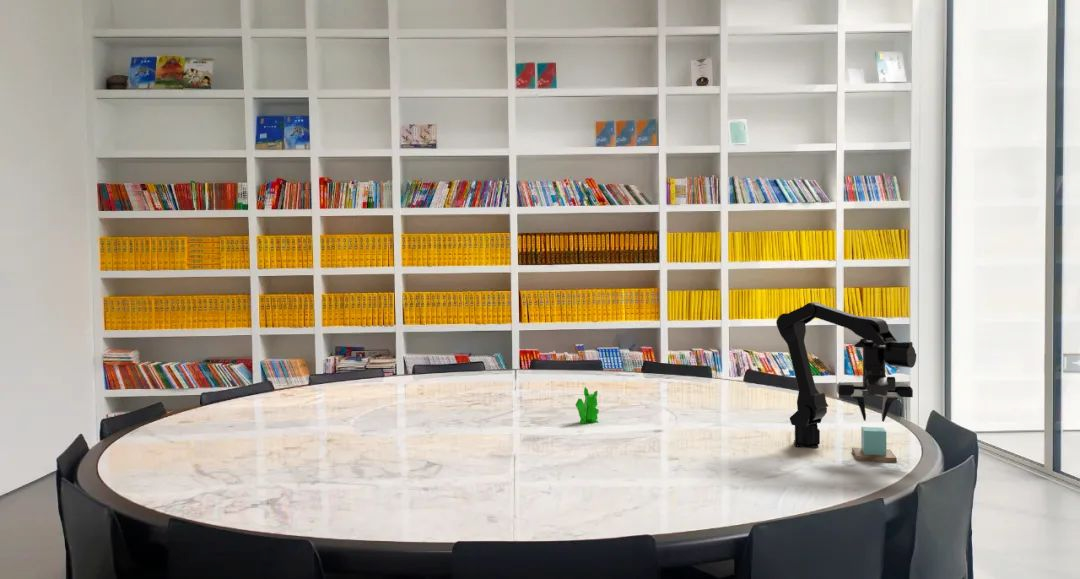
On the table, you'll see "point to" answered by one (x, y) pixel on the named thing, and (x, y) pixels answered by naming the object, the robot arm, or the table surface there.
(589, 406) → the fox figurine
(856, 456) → the post board
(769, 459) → the table surface
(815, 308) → the robot arm
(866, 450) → the teal block
